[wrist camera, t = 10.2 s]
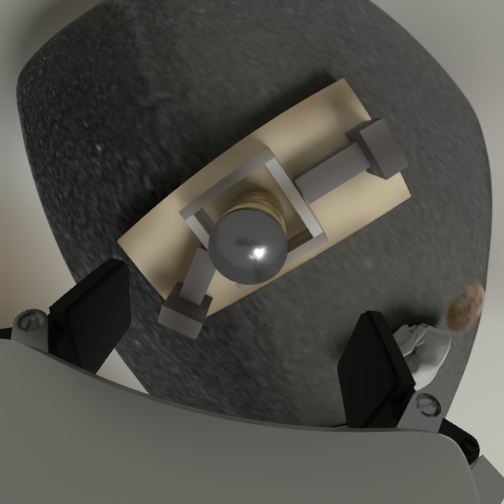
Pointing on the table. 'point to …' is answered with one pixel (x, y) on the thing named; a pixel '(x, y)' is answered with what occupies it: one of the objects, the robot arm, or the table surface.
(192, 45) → the table surface
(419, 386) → the skull
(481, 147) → the table surface
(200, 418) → the robot arm
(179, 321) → the stand
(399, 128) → the table surface
